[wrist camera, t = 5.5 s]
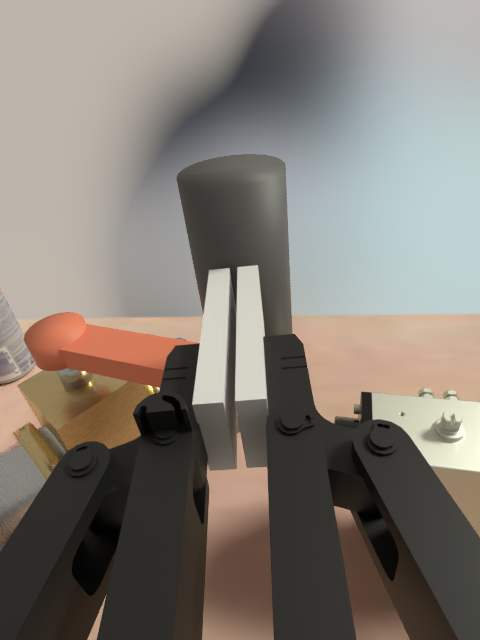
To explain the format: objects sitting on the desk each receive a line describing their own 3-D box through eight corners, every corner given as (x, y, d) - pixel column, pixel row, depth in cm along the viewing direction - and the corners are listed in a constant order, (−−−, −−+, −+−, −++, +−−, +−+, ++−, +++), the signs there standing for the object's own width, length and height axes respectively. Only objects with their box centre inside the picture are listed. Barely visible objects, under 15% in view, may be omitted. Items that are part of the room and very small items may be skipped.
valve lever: (20, 367, 26) (-85, 182, 19) (63, 328, 29) (-14, 156, 22) (282, 427, 20) (265, 190, 13) (302, 371, 23) (297, 153, 16)
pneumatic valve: (526, 589, 25) (610, 473, 18) (328, 553, 28) (332, 440, 21) (502, 503, 29) (561, 382, 22) (332, 479, 32) (337, 365, 25)
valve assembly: (180, 382, 43) (150, 269, 35) (244, 427, 37) (225, 304, 29) (-20, 530, 32) (-128, 414, 24) (28, 623, 26) (-93, 512, 19)
